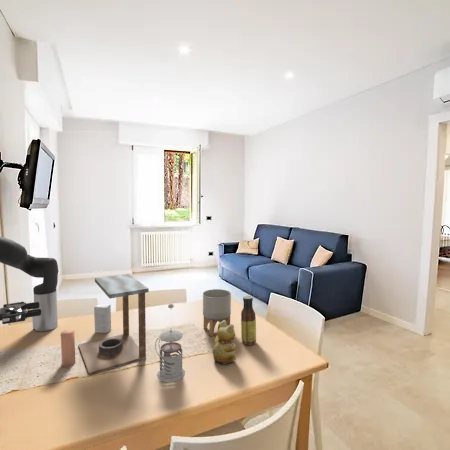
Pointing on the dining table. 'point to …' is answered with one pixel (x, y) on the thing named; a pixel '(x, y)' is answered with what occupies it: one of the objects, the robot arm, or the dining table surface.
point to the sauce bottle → (248, 322)
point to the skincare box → (102, 318)
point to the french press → (170, 356)
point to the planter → (216, 308)
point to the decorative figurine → (224, 343)
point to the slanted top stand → (123, 344)
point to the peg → (68, 347)
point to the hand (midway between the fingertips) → (40, 308)
